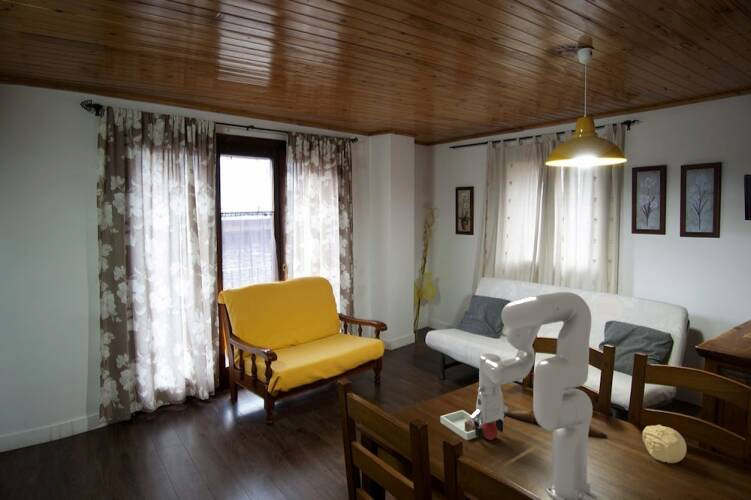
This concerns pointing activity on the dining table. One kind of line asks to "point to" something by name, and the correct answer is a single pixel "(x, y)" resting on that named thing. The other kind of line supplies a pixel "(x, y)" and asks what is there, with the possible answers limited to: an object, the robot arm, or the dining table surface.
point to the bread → (531, 418)
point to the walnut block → (469, 426)
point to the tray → (458, 423)
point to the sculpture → (664, 443)
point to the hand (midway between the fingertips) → (489, 433)
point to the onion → (489, 430)
